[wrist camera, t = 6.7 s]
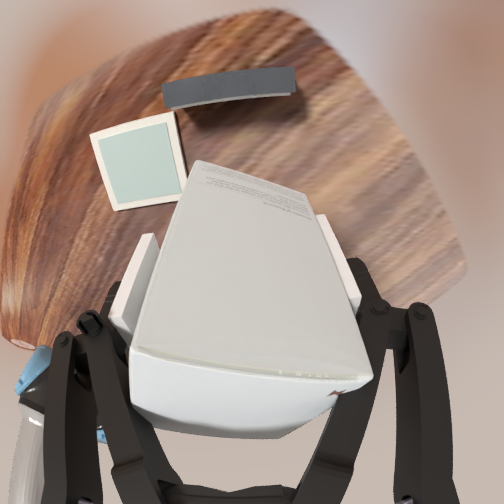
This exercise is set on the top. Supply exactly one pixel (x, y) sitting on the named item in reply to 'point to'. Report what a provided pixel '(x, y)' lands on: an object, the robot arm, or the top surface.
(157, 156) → the plate
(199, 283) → the supplement box
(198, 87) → the vise
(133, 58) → the top surface
